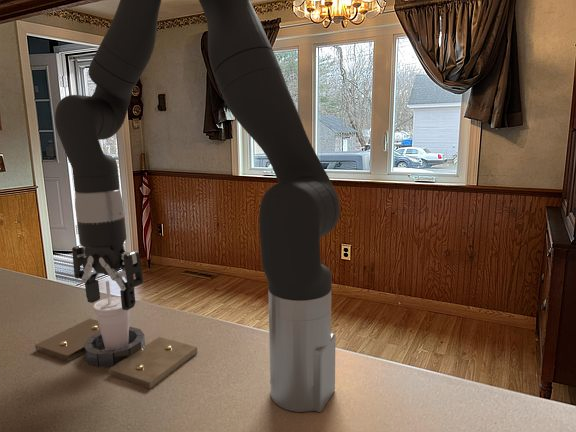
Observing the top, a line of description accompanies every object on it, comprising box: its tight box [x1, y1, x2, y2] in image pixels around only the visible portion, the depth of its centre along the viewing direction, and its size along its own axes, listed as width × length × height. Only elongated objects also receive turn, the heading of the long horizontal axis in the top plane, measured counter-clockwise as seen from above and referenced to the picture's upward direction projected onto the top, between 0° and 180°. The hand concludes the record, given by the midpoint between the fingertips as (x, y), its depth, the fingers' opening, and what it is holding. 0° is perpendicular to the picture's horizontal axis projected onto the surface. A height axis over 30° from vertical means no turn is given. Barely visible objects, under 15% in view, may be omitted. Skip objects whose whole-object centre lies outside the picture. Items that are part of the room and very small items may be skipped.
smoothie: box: [92, 280, 131, 350], centre depth 77 cm, size 6×6×14 cm
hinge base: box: [34, 318, 198, 390], centre depth 78 cm, size 28×12×2 cm, turn 64°
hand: (110, 304), depth 76 cm, fingers open, 8 cm apart
